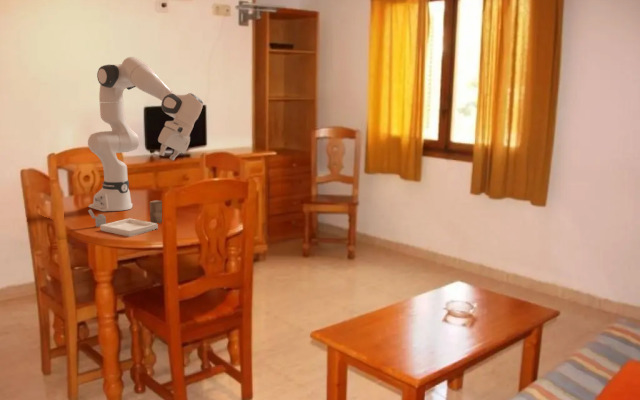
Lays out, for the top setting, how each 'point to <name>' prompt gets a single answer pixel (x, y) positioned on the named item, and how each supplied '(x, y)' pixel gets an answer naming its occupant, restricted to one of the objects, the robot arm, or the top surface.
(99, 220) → the lighter
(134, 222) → the tray
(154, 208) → the walnut block
